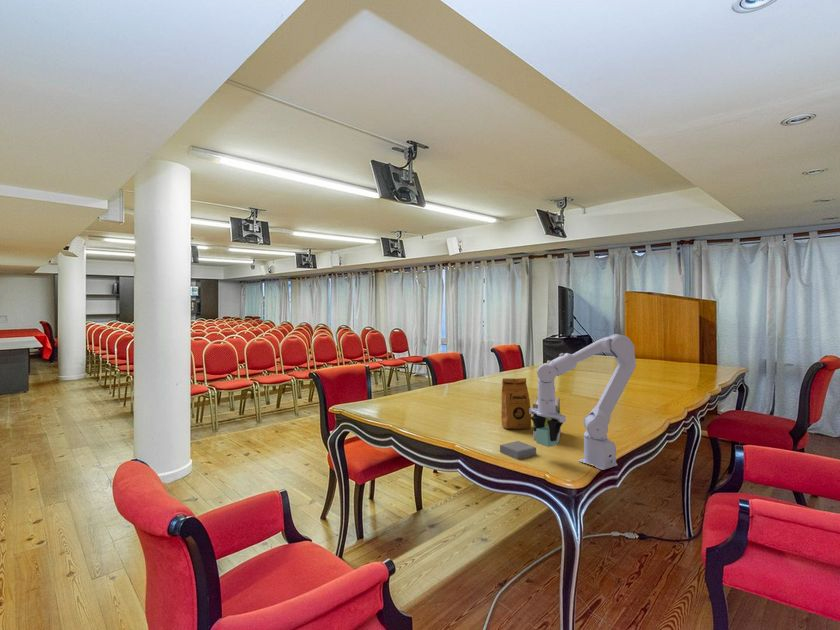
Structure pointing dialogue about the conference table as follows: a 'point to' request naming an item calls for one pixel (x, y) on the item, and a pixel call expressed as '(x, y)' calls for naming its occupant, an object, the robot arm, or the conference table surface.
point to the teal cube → (544, 437)
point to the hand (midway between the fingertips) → (547, 438)
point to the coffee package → (515, 404)
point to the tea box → (557, 409)
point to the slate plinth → (518, 450)
